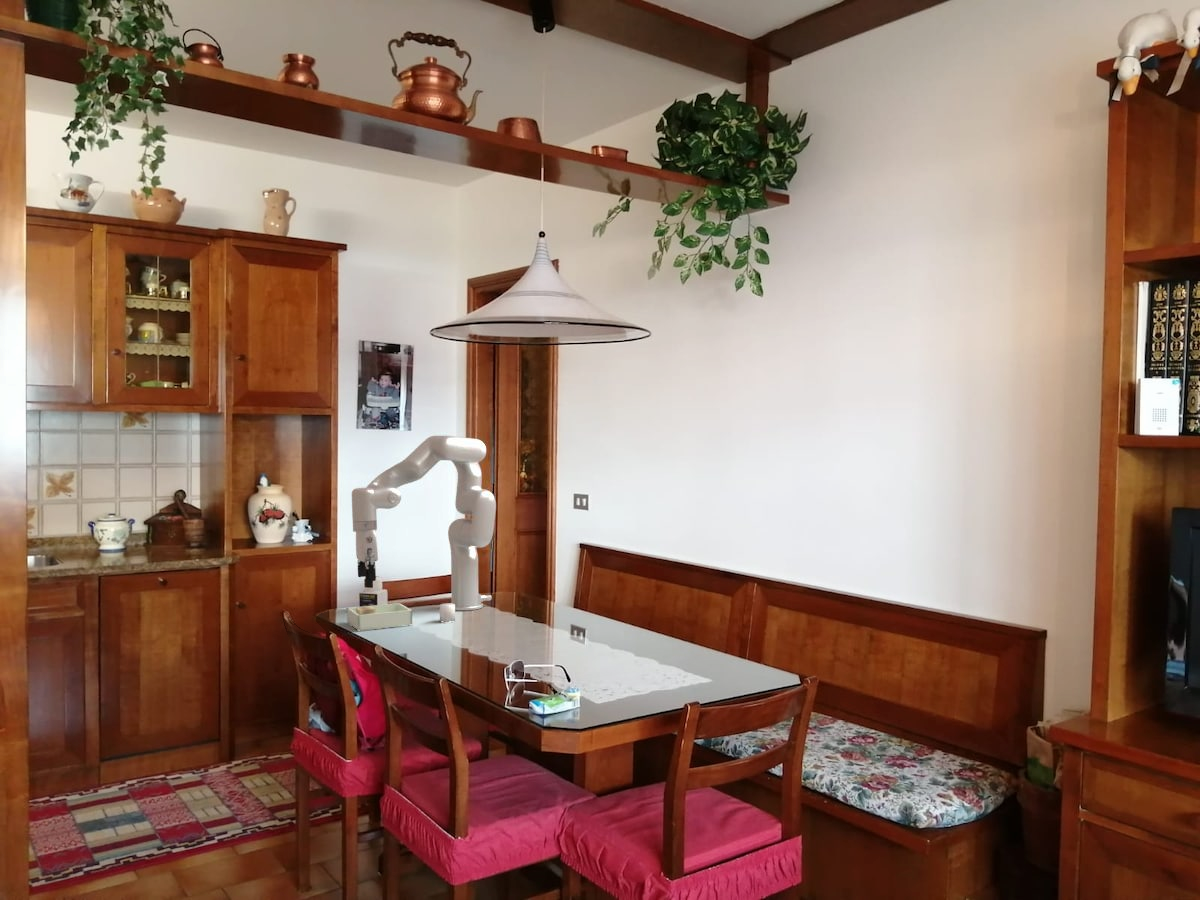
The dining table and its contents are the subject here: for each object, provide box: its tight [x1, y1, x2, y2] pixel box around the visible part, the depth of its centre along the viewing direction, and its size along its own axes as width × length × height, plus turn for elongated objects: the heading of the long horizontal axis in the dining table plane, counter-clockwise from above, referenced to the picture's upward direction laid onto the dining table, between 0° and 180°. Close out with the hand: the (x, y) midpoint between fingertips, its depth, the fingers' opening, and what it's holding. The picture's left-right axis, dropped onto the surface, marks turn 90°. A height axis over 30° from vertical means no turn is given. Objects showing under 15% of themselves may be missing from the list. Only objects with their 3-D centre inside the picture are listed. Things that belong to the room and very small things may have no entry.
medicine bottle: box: [358, 575, 389, 607], centre depth 321 cm, size 7×7×12 cm
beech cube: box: [356, 606, 375, 615], centre depth 297 cm, size 5×5×5 cm
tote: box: [346, 602, 413, 632], centre depth 299 cm, size 17×14×5 cm
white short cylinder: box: [439, 602, 456, 622], centre depth 304 cm, size 5×5×6 cm
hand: (366, 578), depth 297 cm, fingers open, 9 cm apart
